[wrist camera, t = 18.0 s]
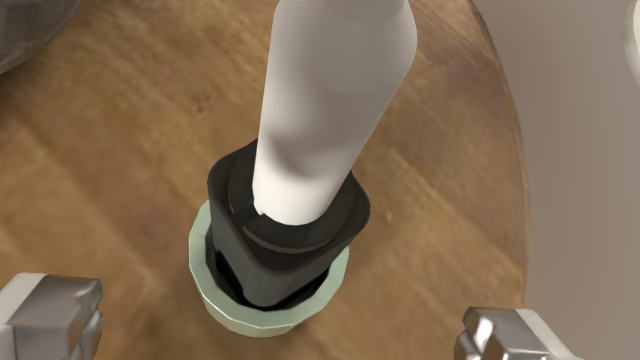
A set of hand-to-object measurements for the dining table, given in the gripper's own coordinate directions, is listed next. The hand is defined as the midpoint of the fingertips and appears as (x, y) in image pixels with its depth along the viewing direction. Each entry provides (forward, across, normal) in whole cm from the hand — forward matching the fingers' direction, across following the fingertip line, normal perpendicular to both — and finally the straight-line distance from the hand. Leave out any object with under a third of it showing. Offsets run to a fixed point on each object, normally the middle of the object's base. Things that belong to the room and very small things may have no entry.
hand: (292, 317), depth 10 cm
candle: (+16, 0, +9) cm, 19 cm away
